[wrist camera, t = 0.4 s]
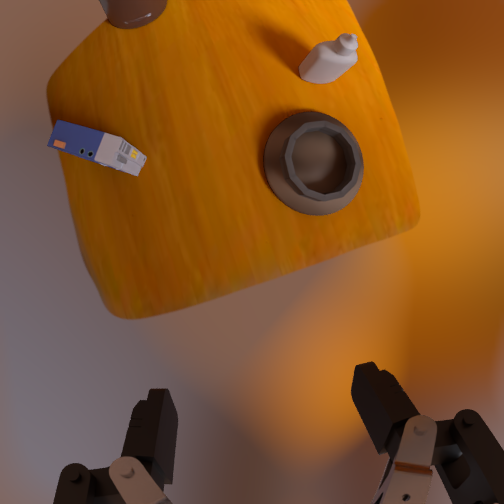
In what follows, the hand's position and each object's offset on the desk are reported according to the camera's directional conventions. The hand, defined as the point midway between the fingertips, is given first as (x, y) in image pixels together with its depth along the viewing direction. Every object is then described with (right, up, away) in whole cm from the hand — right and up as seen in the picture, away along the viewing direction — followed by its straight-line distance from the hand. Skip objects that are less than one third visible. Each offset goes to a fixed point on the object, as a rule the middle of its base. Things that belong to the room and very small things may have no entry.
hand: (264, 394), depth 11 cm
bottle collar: (+8, +18, +26) cm, 33 cm away
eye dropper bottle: (+9, +31, +25) cm, 41 cm away
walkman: (-18, +18, +22) cm, 34 cm away
